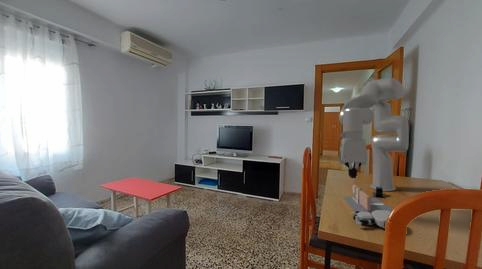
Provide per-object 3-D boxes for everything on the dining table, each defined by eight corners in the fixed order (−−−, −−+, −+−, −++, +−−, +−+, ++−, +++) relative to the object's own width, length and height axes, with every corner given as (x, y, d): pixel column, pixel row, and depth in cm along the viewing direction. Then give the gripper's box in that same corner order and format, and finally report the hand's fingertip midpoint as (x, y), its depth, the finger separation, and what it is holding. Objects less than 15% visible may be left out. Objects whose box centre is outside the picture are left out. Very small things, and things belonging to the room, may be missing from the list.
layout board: (343, 197, 108) (343, 196, 107) (377, 198, 104) (377, 198, 104) (356, 212, 89) (356, 211, 89) (398, 214, 86) (398, 213, 86)
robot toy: (357, 232, 74) (406, 235, 70) (356, 220, 74) (405, 222, 70) (350, 218, 86) (392, 219, 81) (349, 207, 86) (391, 208, 81)
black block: (388, 200, 103) (388, 191, 103) (371, 198, 107) (371, 189, 107) (386, 193, 114) (386, 185, 113) (370, 191, 117) (370, 184, 117)
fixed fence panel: (352, 198, 106) (352, 184, 106) (355, 198, 106) (355, 184, 106) (358, 204, 98) (358, 189, 97) (362, 204, 97) (362, 189, 97)
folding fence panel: (359, 203, 97) (359, 190, 97) (362, 203, 97) (362, 190, 97) (367, 210, 88) (367, 197, 88) (370, 211, 88) (370, 197, 88)
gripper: (336, 136, 88) (336, 179, 88) (375, 136, 85) (375, 180, 85) (332, 135, 95) (332, 175, 96) (367, 135, 92) (367, 176, 93)
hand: (352, 177), depth 91 cm, fingers closed
